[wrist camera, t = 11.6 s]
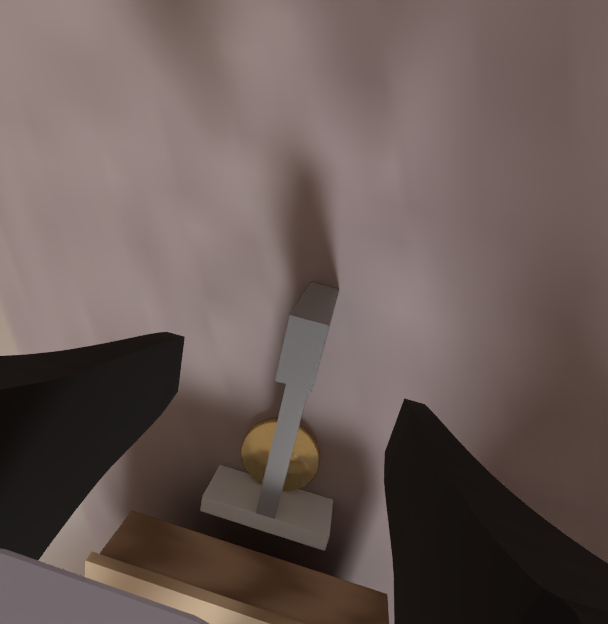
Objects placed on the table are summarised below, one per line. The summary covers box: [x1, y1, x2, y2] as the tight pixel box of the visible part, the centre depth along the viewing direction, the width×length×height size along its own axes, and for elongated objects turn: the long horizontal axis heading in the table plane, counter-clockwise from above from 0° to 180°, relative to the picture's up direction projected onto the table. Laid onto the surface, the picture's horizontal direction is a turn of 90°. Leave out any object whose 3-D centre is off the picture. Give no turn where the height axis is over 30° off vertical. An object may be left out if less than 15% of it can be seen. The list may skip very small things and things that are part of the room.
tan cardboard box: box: [85, 511, 389, 624], centre depth 23 cm, size 17×12×7 cm
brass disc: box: [241, 418, 320, 491], centre depth 23 cm, size 5×5×1 cm
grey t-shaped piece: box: [200, 282, 339, 551], centre depth 19 cm, size 8×15×6 cm, turn 167°
